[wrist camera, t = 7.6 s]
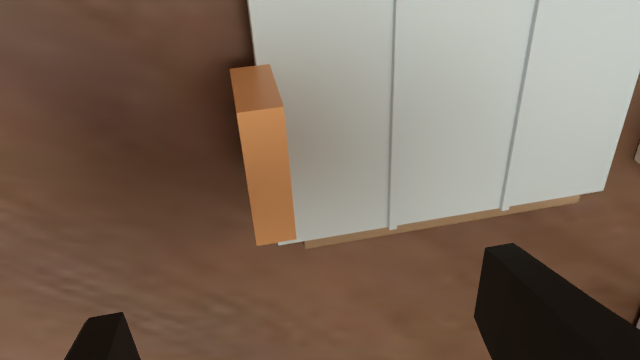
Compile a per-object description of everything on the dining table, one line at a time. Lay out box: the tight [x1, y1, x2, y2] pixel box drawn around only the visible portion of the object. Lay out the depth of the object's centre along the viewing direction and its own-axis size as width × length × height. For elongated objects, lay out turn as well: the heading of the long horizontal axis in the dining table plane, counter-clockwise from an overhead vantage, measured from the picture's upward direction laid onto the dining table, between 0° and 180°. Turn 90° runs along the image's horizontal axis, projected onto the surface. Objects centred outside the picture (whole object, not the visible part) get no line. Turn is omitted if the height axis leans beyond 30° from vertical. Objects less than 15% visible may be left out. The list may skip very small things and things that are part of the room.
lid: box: [230, 0, 640, 246], centre depth 17 cm, size 14×10×4 cm
